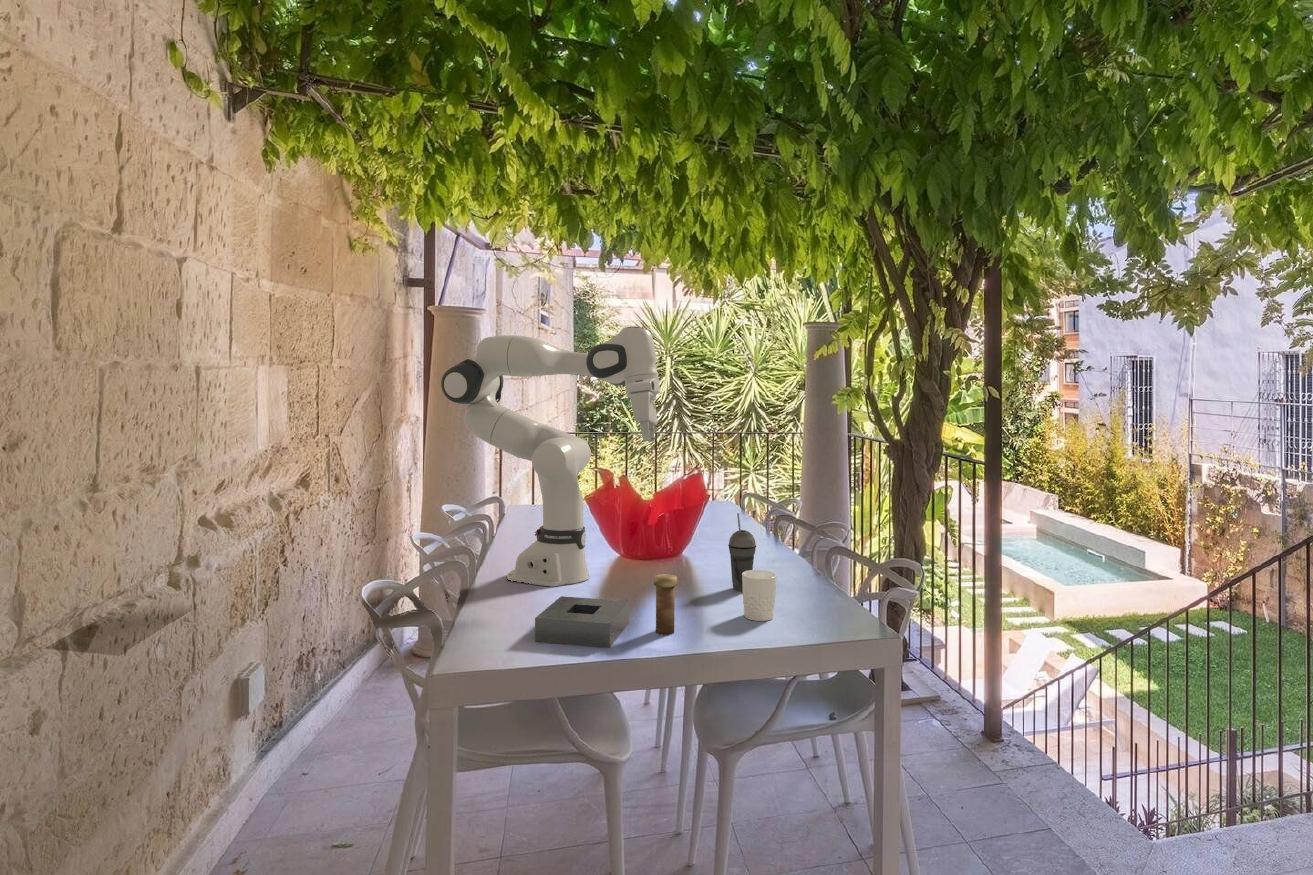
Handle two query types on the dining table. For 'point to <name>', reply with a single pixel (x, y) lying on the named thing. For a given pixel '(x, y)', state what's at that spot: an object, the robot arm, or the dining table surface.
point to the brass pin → (665, 603)
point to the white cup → (759, 594)
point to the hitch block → (582, 622)
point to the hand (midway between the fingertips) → (649, 441)
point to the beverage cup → (741, 555)
